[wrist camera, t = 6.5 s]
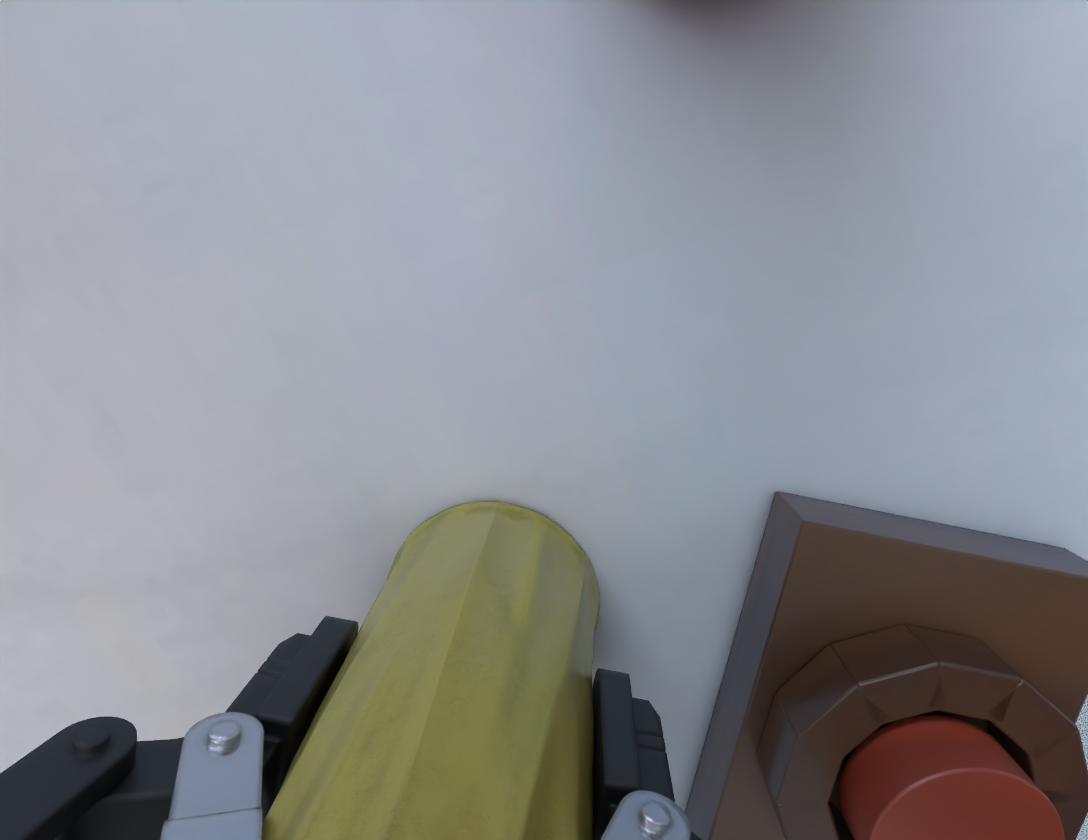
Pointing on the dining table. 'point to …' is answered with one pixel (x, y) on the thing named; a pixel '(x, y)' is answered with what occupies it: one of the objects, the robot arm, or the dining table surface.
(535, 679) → the vase
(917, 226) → the dining table surface
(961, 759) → the call button
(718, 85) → the dining table surface
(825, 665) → the button box
